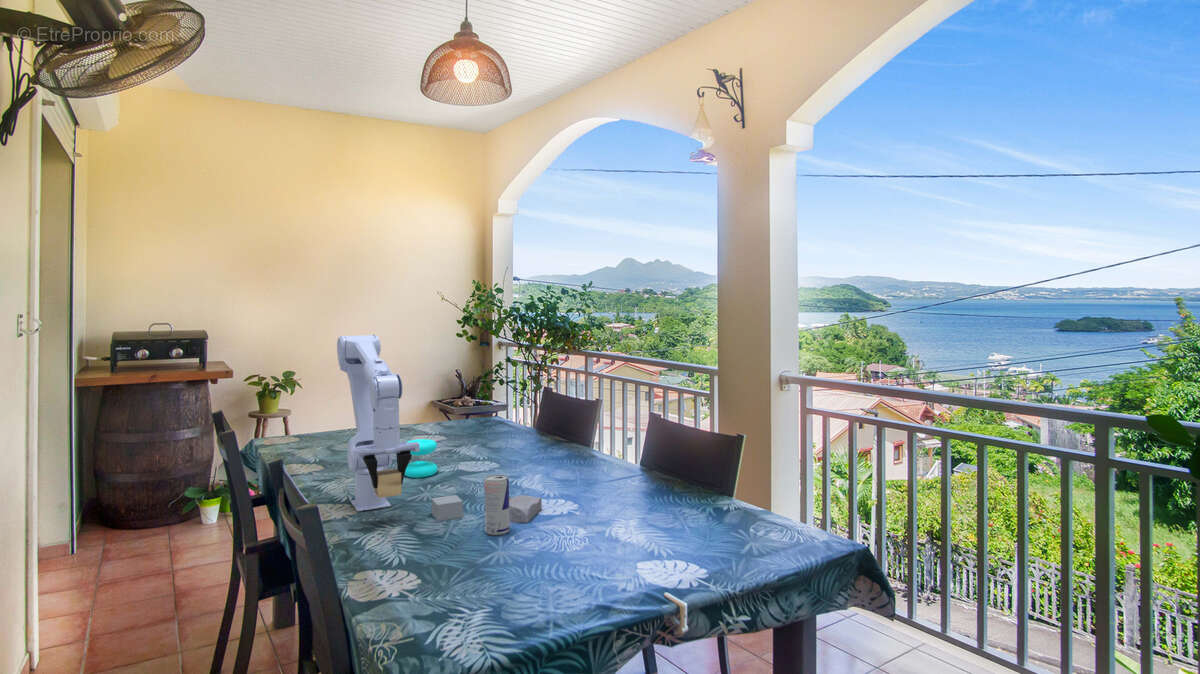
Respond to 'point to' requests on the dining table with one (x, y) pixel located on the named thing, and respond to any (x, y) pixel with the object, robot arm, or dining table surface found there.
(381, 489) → the wooden cube
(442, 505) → the grey block
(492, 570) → the dining table surface
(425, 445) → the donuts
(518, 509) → the stone block
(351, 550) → the dining table surface
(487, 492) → the energy drink
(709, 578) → the dining table surface
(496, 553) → the dining table surface
